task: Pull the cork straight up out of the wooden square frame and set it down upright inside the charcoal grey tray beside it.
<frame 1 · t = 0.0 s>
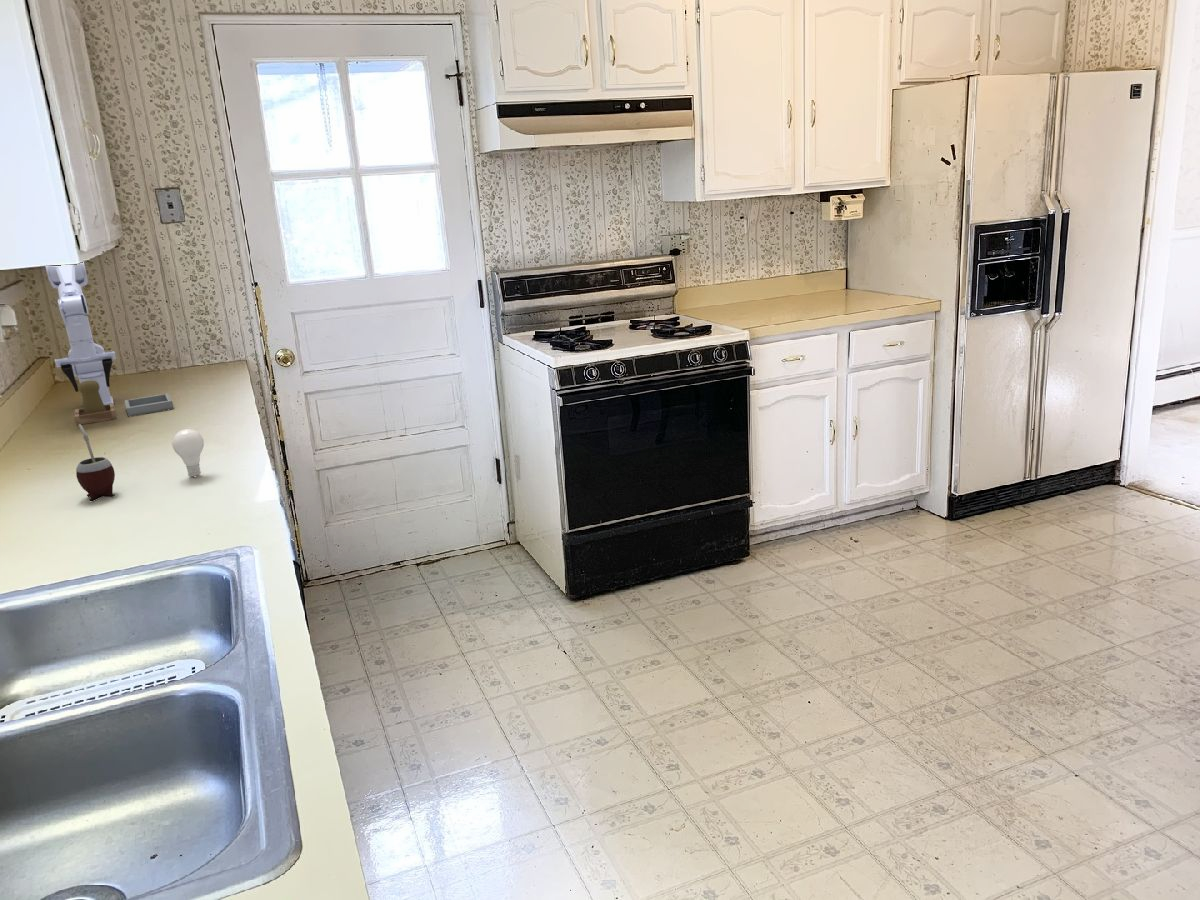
hand: (92, 388, 250), 10 cm above the worktop, tool pointing down, fingers open, 7 cm apart
wooden square frame: (96, 418, 260), on the worktop
mate gourd: (100, 496, 194), on the worktop
tray: (149, 408, 267), on the worktop
lightbulb: (195, 477, 202), on the worktop
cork: (96, 419, 260), resting in wooden square frame
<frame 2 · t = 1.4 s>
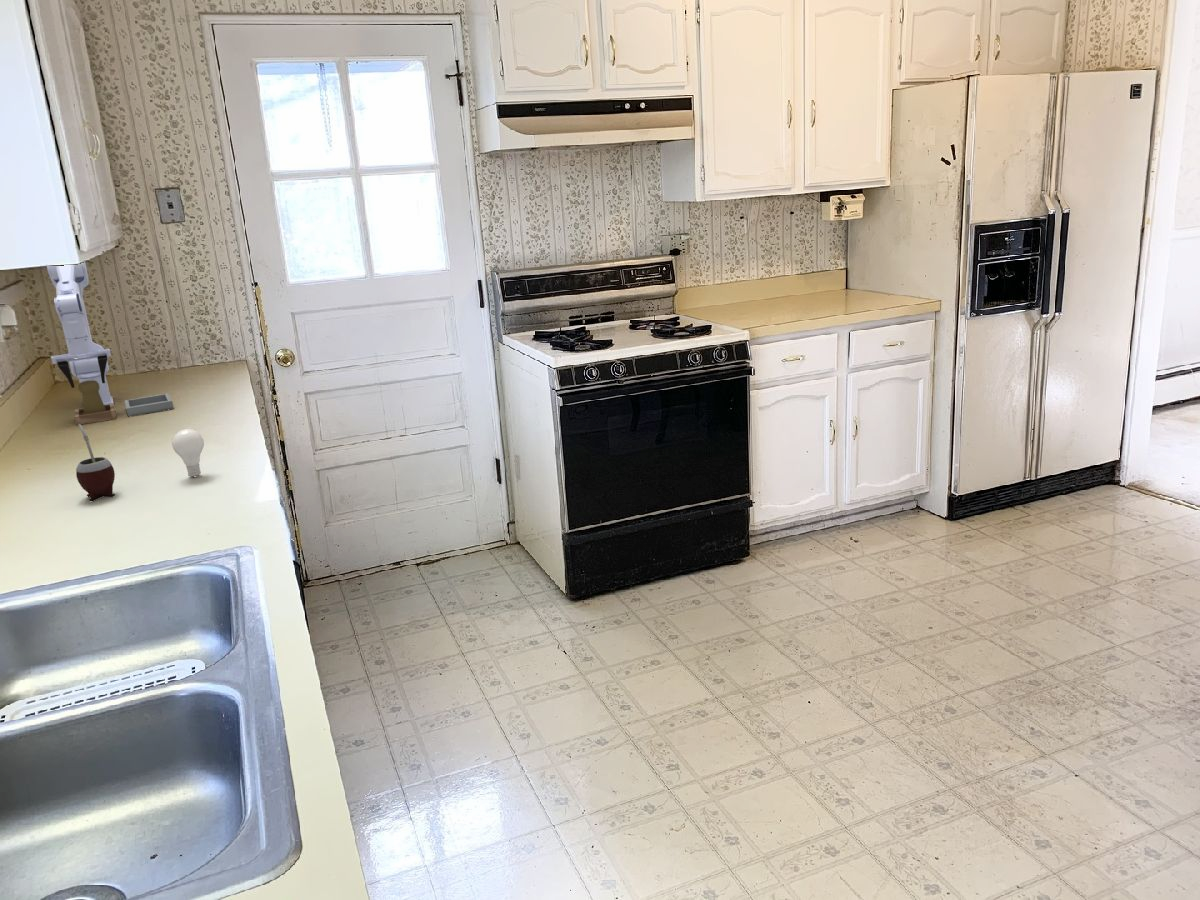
hand: (88, 384, 257), 10 cm above the worktop, tool pointing down, fingers open, 7 cm apart
nothing on the worktop moved.
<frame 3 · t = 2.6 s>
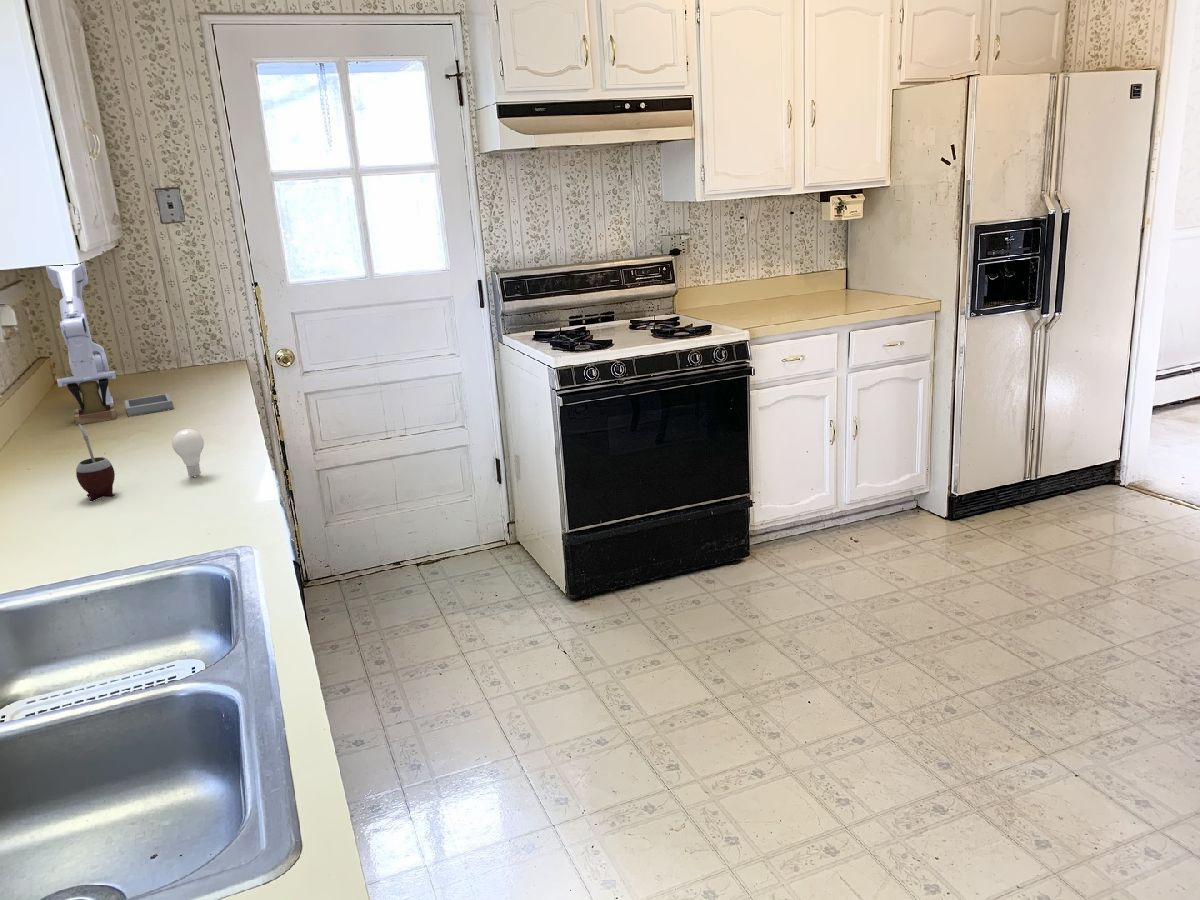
hand: (93, 406, 259), 3 cm above the worktop, tool pointing down, fingers closed on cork, 5 cm apart
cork: (96, 419, 260), resting in wooden square frame, touching gripper
everything else where it was.
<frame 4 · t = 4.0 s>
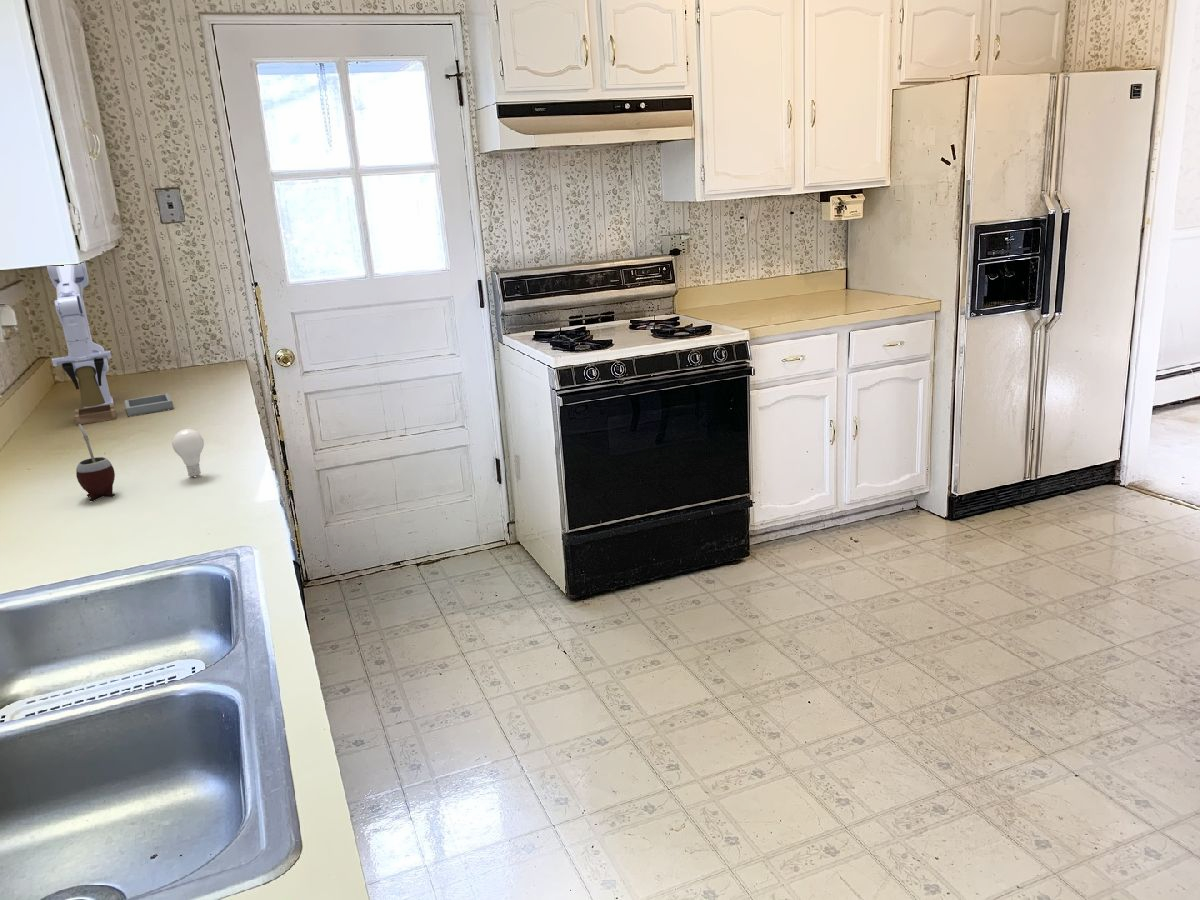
hand: (89, 387, 257), 9 cm above the worktop, tool pointing down, fingers closed on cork, 5 cm apart
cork: (93, 405, 258), point 4 cm above the worktop, touching gripper
everything else where it was.
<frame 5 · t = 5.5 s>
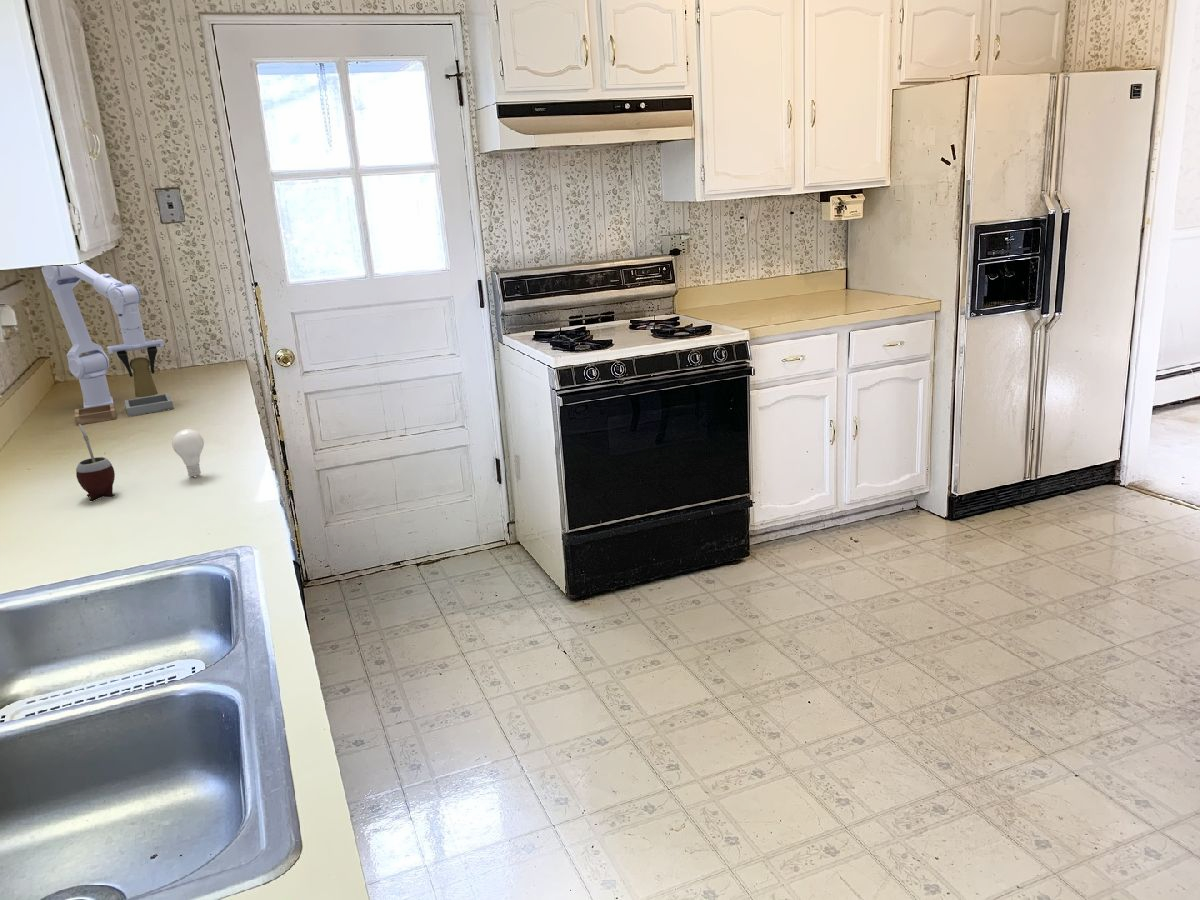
hand: (142, 374, 264), 10 cm above the worktop, tool pointing down, fingers closed on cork, 5 cm apart
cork: (146, 395, 265), point 4 cm above the worktop, touching gripper
everything else where it was.
when the fingers open (5 cm above the worktop, at t = 7.3 s): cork stays where it is, resting on tray.
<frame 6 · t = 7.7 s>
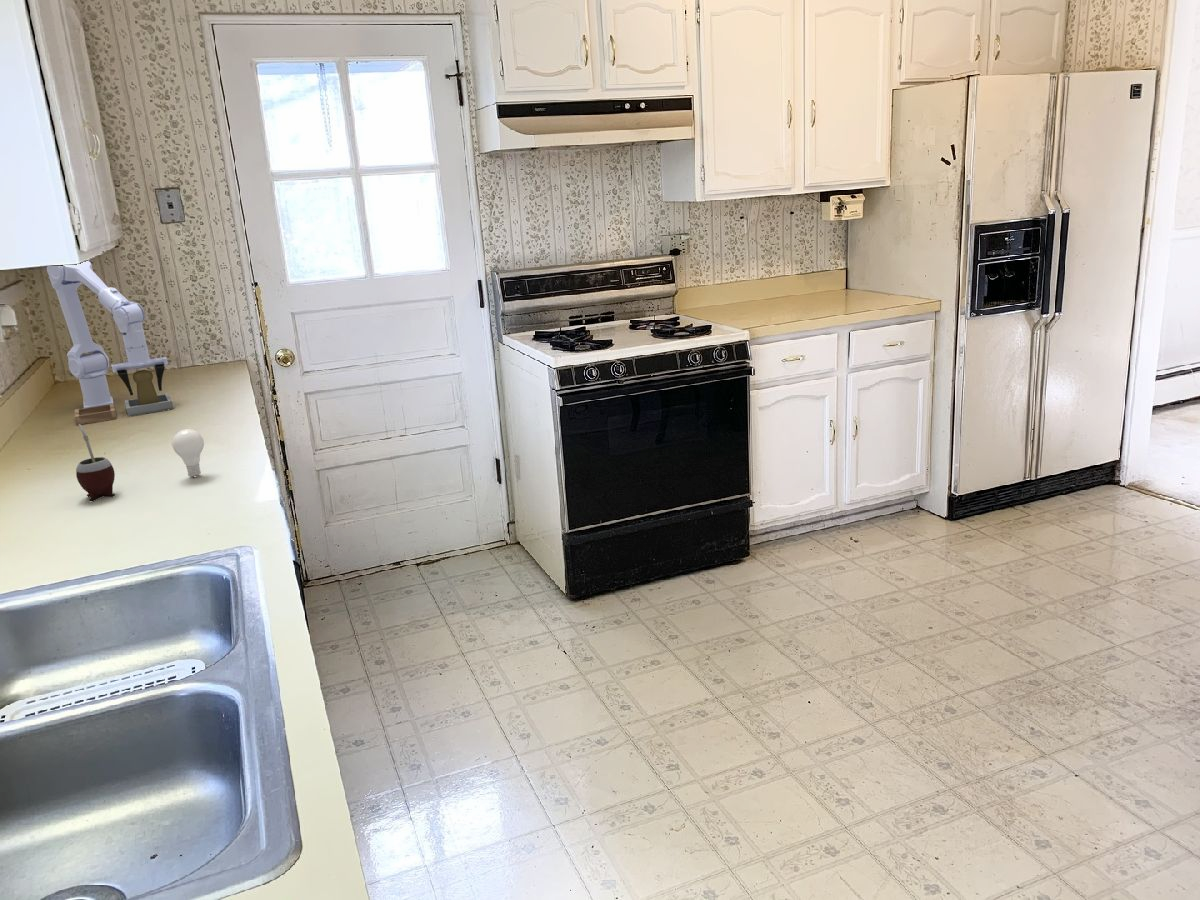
hand: (146, 392, 265), 5 cm above the worktop, tool pointing down, fingers open, 7 cm apart
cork: (149, 407, 266), resting on tray
everything else where it was.
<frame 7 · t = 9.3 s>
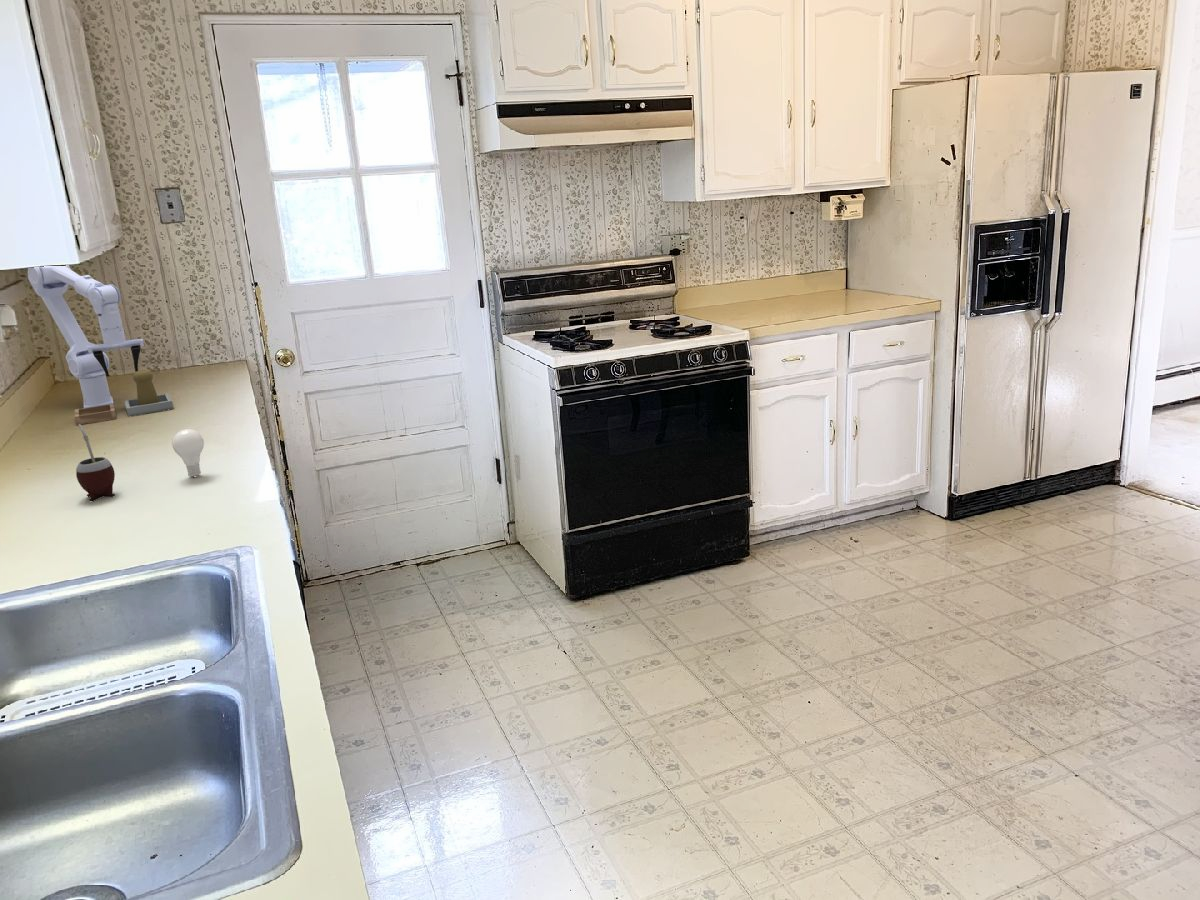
hand: (122, 373, 266), 10 cm above the worktop, tool pointing down, fingers open, 7 cm apart
nothing on the worktop moved.
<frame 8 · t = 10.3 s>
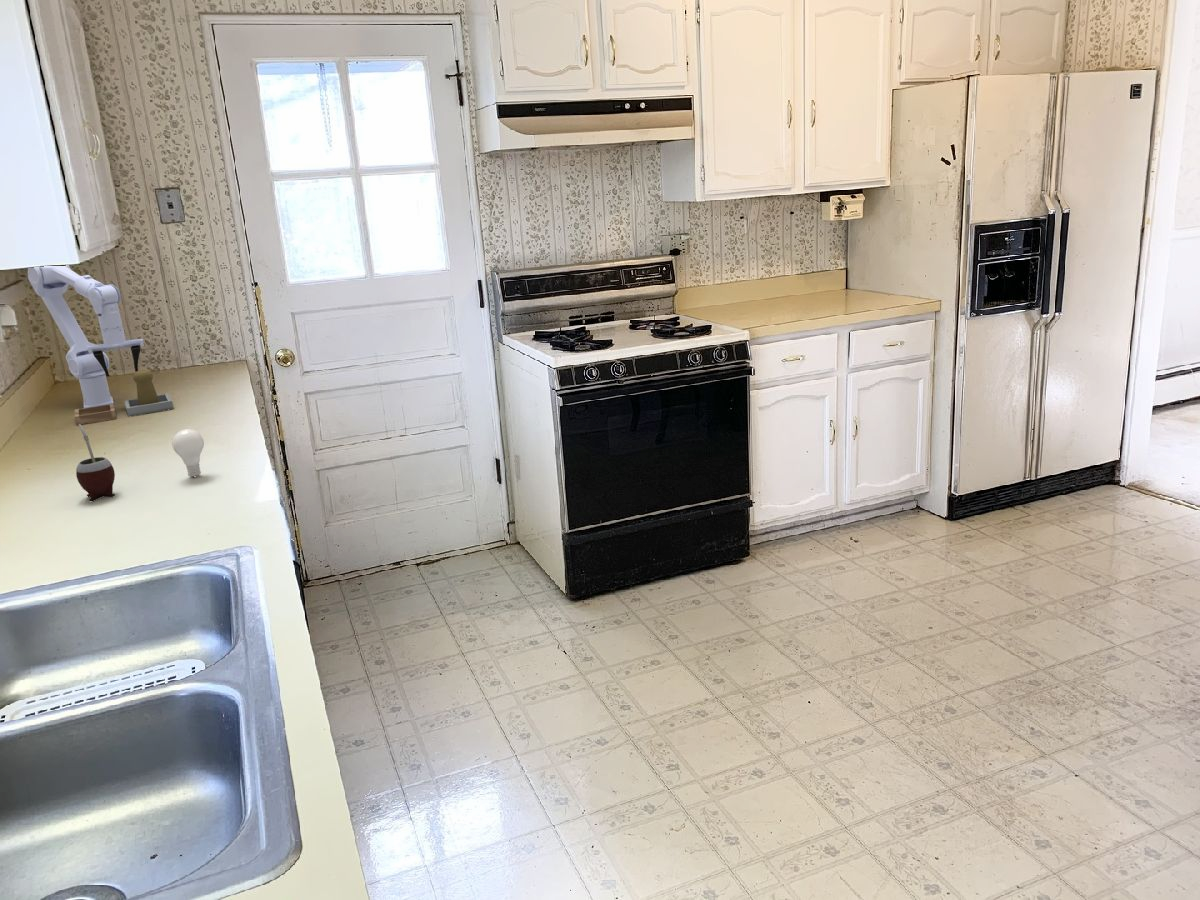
hand: (122, 373, 266), 10 cm above the worktop, tool pointing down, fingers open, 7 cm apart
nothing on the worktop moved.
at the end: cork 0.6 cm off-centre on the tray, point 0.4 cm above the tray's base; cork tilted 0°; the gripper is holding nothing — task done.
